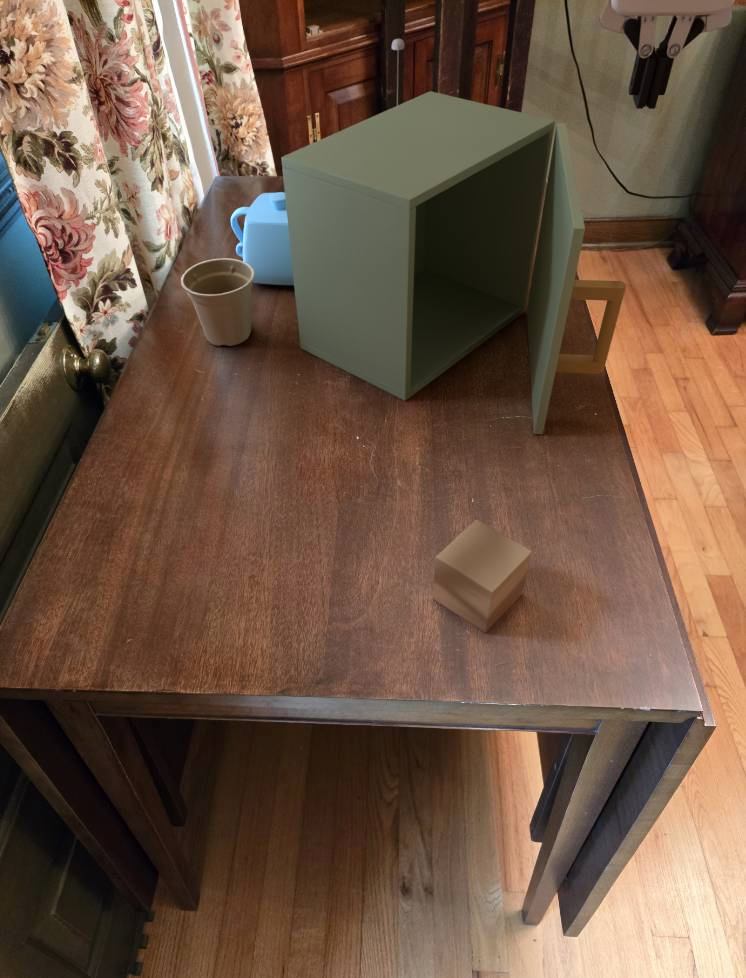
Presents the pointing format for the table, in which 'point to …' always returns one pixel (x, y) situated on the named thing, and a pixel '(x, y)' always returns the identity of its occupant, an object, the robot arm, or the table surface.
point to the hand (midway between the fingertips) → (643, 103)
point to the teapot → (266, 239)
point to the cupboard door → (562, 285)
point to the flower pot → (221, 298)
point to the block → (480, 575)
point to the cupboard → (415, 235)
